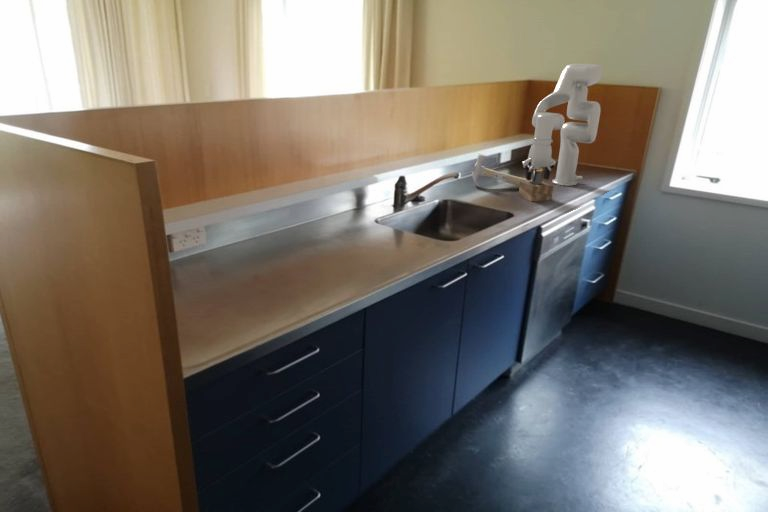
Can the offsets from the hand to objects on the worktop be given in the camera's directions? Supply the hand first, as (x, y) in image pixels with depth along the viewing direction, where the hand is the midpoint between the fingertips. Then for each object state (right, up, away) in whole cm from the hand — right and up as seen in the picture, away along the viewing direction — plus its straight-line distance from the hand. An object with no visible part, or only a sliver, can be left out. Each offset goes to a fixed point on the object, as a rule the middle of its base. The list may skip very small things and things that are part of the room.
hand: (537, 179), depth 249 cm
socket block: (0, -8, +3) cm, 9 cm away
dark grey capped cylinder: (0, -8, +3) cm, 9 cm away
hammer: (-12, -1, +21) cm, 25 cm away
